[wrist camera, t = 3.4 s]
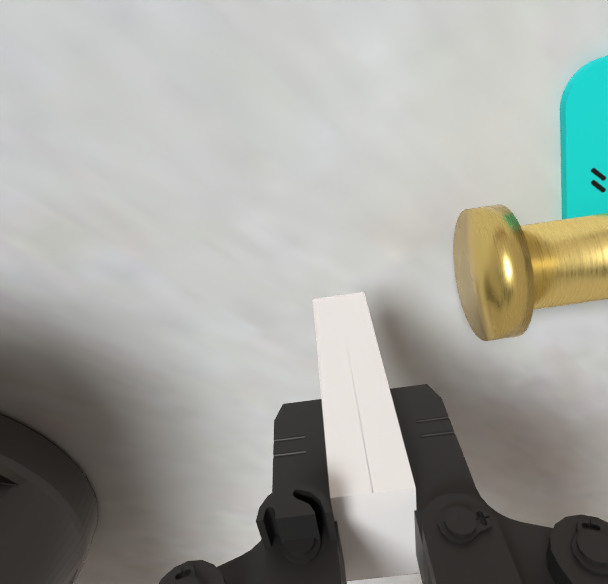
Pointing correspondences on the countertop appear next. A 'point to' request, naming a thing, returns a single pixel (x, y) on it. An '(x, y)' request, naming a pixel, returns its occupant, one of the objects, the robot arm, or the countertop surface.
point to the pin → (525, 267)
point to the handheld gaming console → (585, 141)
